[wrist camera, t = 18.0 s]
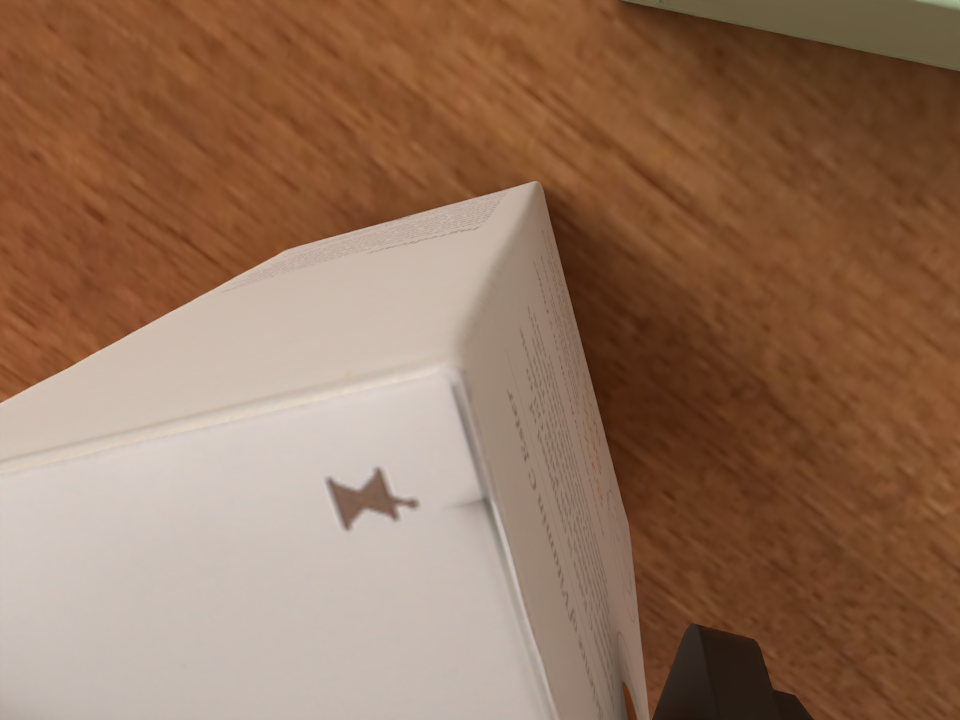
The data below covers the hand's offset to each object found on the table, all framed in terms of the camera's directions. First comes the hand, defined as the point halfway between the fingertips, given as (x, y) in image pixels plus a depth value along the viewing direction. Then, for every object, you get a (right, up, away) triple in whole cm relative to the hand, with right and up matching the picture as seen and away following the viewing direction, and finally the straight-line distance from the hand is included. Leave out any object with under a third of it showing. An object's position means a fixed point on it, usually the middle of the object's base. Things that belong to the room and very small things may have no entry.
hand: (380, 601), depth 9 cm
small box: (+1, +2, +7) cm, 7 cm away
